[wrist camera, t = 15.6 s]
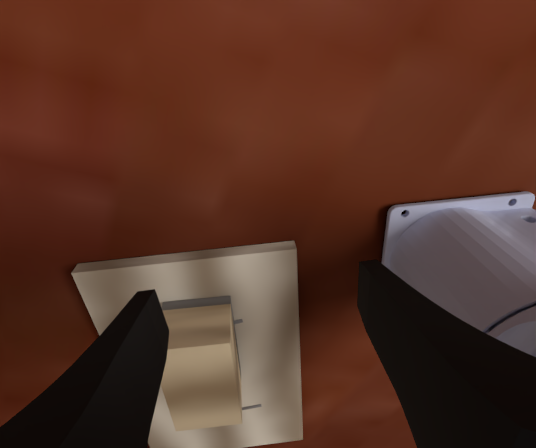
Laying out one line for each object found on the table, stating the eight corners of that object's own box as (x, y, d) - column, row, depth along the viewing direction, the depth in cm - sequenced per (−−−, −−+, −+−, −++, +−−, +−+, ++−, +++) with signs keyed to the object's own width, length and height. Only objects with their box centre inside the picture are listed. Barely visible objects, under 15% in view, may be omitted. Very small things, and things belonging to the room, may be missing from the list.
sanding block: (162, 302, 22) (149, 351, 19) (230, 295, 23) (229, 343, 19) (183, 379, 26) (176, 431, 23) (241, 372, 27) (242, 423, 23)
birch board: (294, 240, 22) (296, 249, 21) (301, 428, 33) (303, 440, 32) (77, 263, 22) (70, 273, 21) (157, 447, 33) (155, 459, 32)
